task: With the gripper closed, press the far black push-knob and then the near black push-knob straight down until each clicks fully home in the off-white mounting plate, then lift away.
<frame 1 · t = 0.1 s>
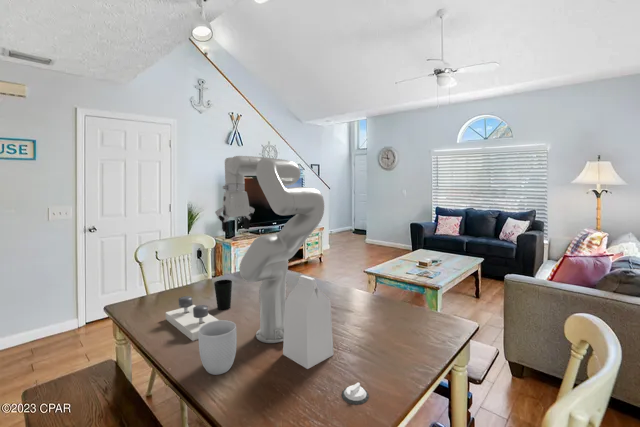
hand: (236, 230, 135), 37 cm above the table, tool pointing down, fingers open, 9 cm apart
mug: (219, 367, 101), on the table
knob far: (185, 305, 135), point 6 cm above the table, slide at 0.0 cm
mount: (193, 324, 131), on the table
milk: (308, 355, 108), on the table
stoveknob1: (355, 397, 87), on the table
knob near: (200, 315, 125), point 6 cm above the table, slide at 0.0 cm
cup: (224, 308, 148), on the table
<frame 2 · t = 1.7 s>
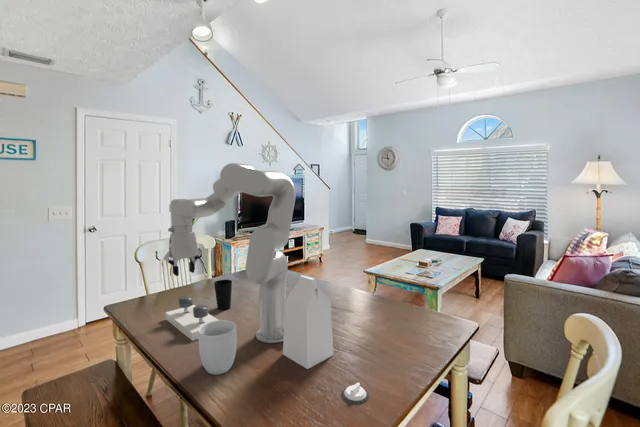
hand: (184, 273, 134), 20 cm above the table, tool pointing down, fingers open, 5 cm apart
nothing on the table moved.
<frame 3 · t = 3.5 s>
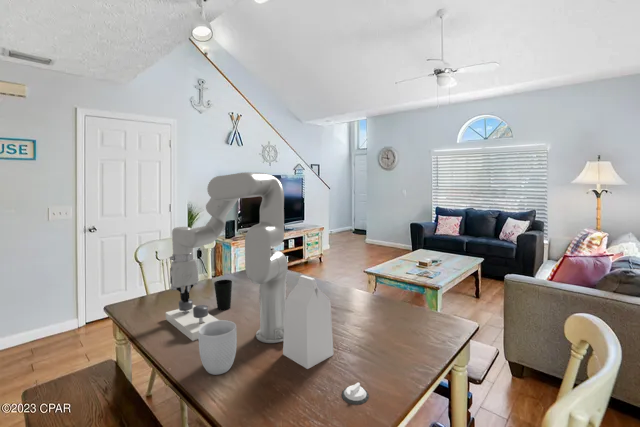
hand: (185, 301, 135), 8 cm above the table, tool pointing down, fingers closed
knob far: (185, 308, 135), point 5 cm above the table, slide at 1.3 cm, touching gripper
everything else where it was.
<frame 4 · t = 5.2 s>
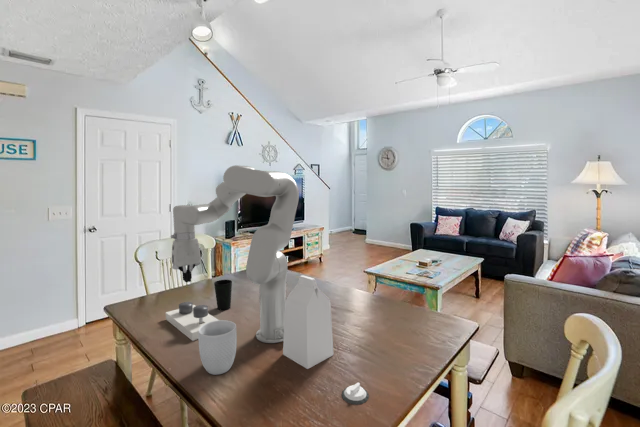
hand: (187, 281, 132), 17 cm above the table, tool pointing down, fingers closed
knob far: (186, 311, 135), point 3 cm above the table, slide at 2.5 cm
everything else where it was.
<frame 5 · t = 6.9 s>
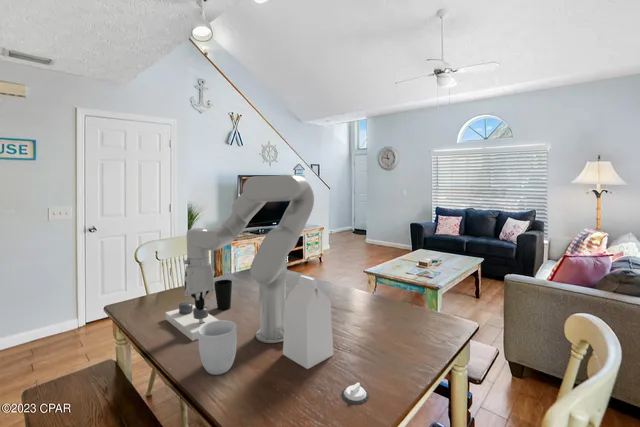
hand: (199, 308, 125), 9 cm above the table, tool pointing down, fingers closed
knob near: (200, 316, 125), point 6 cm above the table, slide at 0.5 cm
everything else where it was.
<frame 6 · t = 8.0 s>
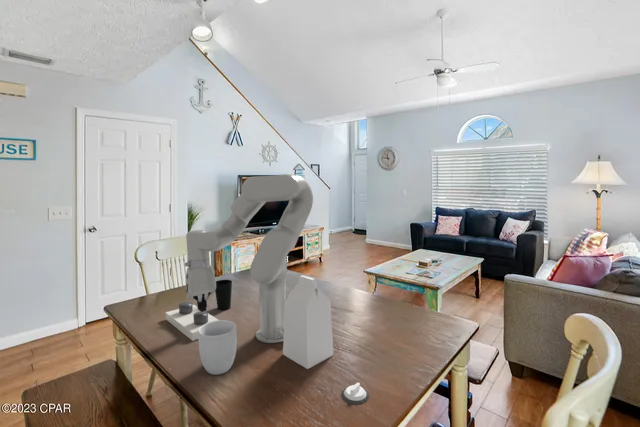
hand: (202, 310, 125), 8 cm above the table, tool pointing down, fingers closed
knob near: (201, 321, 126), point 3 cm above the table, slide at 2.5 cm
everything else where it was.
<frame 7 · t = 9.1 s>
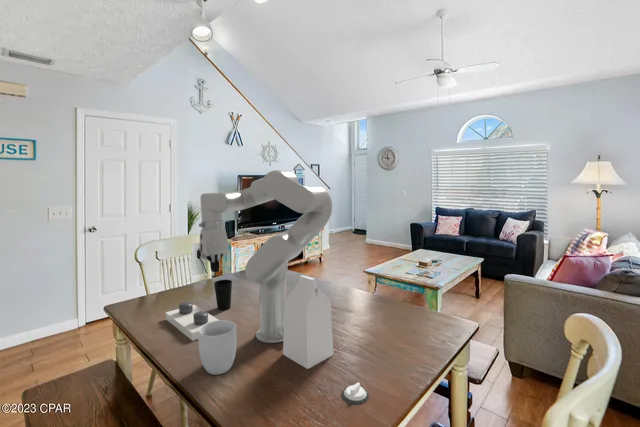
hand: (215, 271, 129), 22 cm above the table, tool pointing down, fingers closed
nothing on the table moved.
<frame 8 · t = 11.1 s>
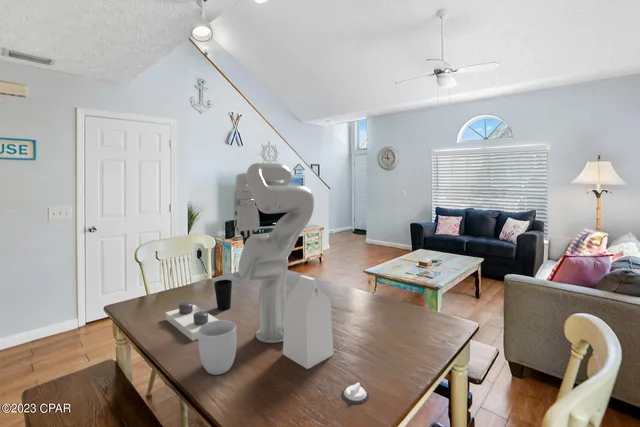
hand: (247, 245, 141), 29 cm above the table, tool pointing down, fingers closed
nothing on the table moved.
at the end: knob far slide at 2.5 cm; knob near slide at 2.5 cm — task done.
